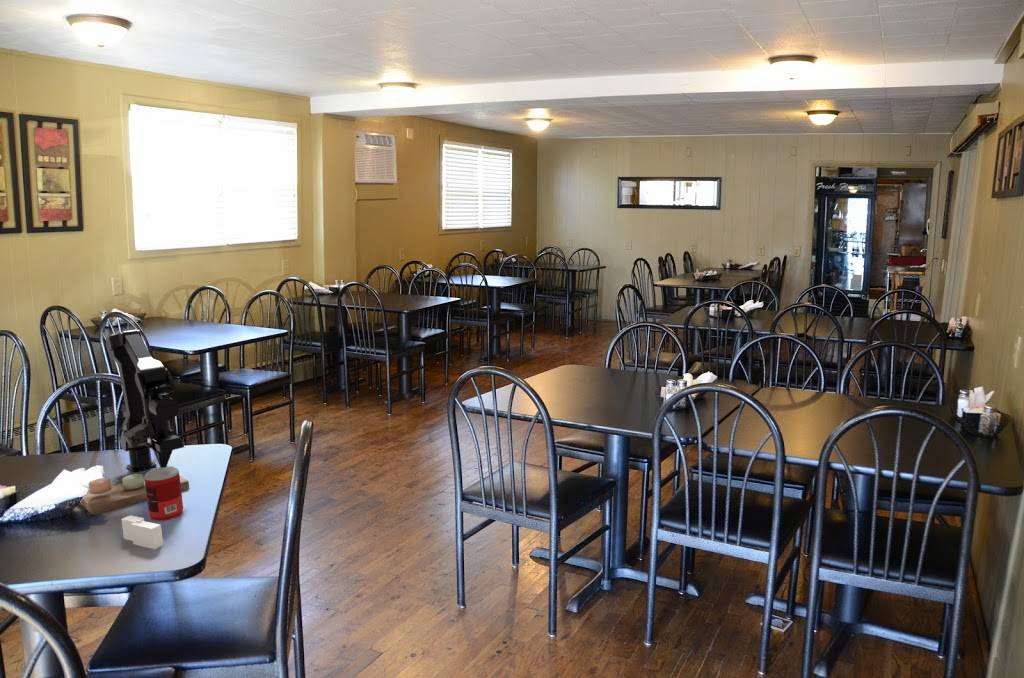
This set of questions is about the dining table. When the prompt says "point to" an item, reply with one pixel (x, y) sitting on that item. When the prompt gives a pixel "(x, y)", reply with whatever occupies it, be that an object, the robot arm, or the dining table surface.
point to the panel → (118, 497)
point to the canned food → (163, 493)
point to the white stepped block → (142, 532)
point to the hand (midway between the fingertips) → (163, 468)
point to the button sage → (133, 481)
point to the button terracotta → (100, 486)
